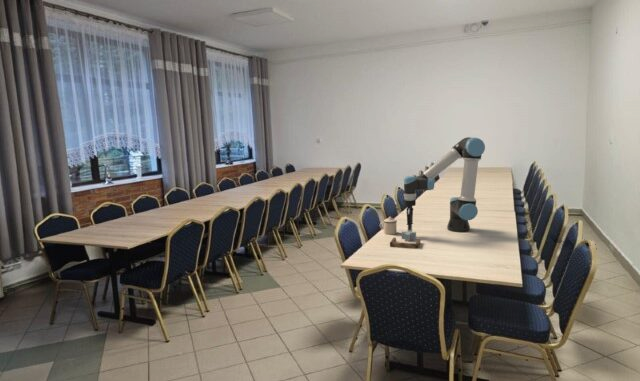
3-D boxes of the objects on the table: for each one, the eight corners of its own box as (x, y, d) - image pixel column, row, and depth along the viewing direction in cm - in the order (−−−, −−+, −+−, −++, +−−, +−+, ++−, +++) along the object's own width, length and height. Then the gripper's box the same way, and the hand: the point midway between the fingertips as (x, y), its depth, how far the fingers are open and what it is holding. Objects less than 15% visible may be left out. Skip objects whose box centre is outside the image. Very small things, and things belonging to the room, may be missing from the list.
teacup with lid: (398, 231, 283) (398, 215, 281) (395, 235, 275) (394, 218, 273) (381, 230, 288) (381, 214, 286) (378, 233, 280) (377, 217, 278)
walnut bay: (420, 242, 254) (420, 239, 254) (417, 248, 243) (417, 244, 243) (393, 241, 260) (393, 237, 260) (390, 246, 249) (389, 242, 249)
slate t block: (416, 238, 265) (416, 231, 264) (414, 241, 258) (414, 234, 257) (402, 237, 268) (402, 231, 268) (400, 240, 261) (400, 234, 260)
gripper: (405, 197, 274) (405, 231, 278) (402, 201, 262) (402, 236, 266) (416, 198, 271) (416, 231, 275) (414, 201, 259) (414, 236, 263)
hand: (409, 233), depth 270 cm, fingers closed
